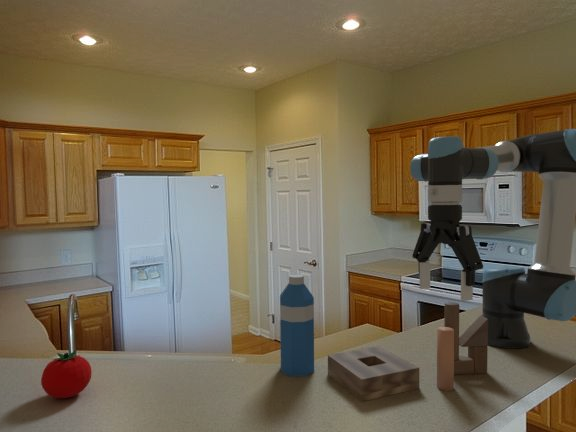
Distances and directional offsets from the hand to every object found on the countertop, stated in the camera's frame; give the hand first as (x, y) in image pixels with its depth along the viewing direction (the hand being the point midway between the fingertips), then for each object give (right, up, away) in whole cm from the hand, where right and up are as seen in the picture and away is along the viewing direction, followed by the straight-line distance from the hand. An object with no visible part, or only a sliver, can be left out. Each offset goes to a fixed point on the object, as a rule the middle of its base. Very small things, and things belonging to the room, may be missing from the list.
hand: (444, 293), depth 99 cm
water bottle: (-35, -23, +12) cm, 43 cm away
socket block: (-16, -22, +5) cm, 28 cm away
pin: (0, -23, +1) cm, 23 cm away
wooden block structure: (+9, -22, +10) cm, 26 cm away
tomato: (-88, -24, -1) cm, 92 cm away
